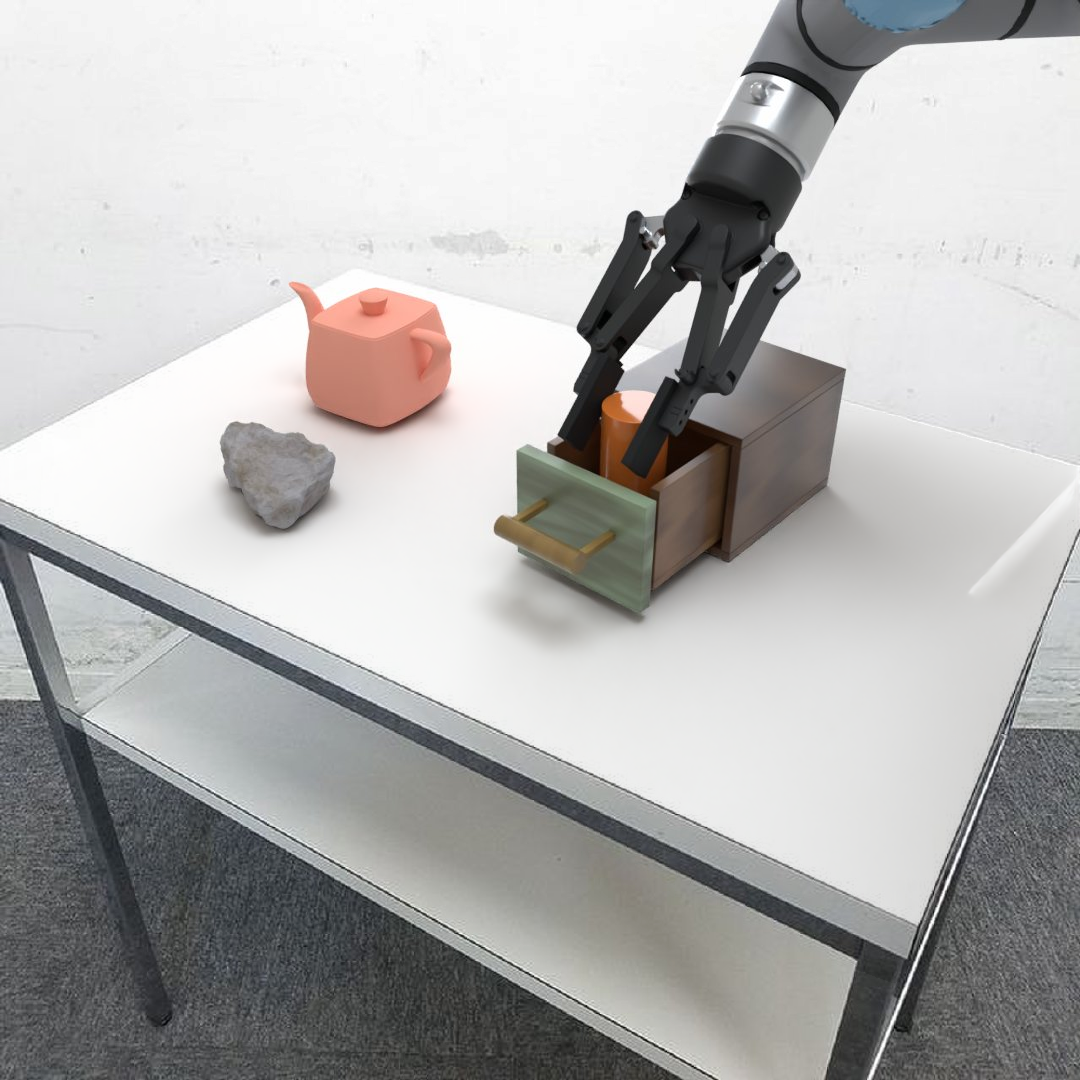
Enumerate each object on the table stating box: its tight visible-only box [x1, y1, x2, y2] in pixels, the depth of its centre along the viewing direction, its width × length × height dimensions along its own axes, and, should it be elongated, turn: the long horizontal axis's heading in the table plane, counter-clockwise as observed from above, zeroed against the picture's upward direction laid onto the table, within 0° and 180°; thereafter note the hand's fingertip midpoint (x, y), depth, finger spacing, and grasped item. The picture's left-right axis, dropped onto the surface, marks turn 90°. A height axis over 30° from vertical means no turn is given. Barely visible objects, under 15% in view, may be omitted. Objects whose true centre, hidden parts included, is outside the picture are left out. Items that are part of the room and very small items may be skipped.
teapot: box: [288, 281, 452, 428], centre depth 107 cm, size 12×18×10 cm, turn 57°
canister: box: [599, 390, 669, 498], centre depth 85 cm, size 5×5×10 cm
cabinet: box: [613, 327, 847, 563], centre depth 94 cm, size 15×13×11 cm
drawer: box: [493, 418, 732, 615], centre depth 86 cm, size 18×11×9 cm, turn 139°
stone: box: [219, 420, 337, 530], centre depth 94 cm, size 10×8×6 cm
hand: (601, 456), depth 81 cm, fingers closed on canister, 5 cm apart
